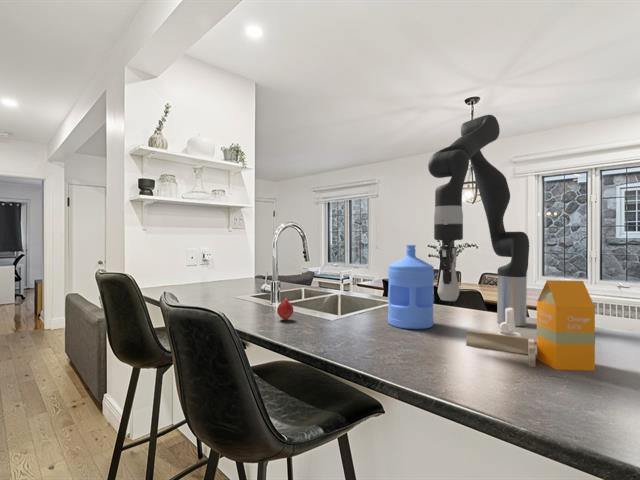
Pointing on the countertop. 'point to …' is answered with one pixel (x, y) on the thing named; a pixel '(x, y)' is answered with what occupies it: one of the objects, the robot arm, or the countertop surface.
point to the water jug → (410, 292)
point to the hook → (509, 324)
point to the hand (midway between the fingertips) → (448, 284)
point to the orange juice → (566, 326)
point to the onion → (285, 309)
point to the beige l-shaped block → (502, 343)
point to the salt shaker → (449, 285)
